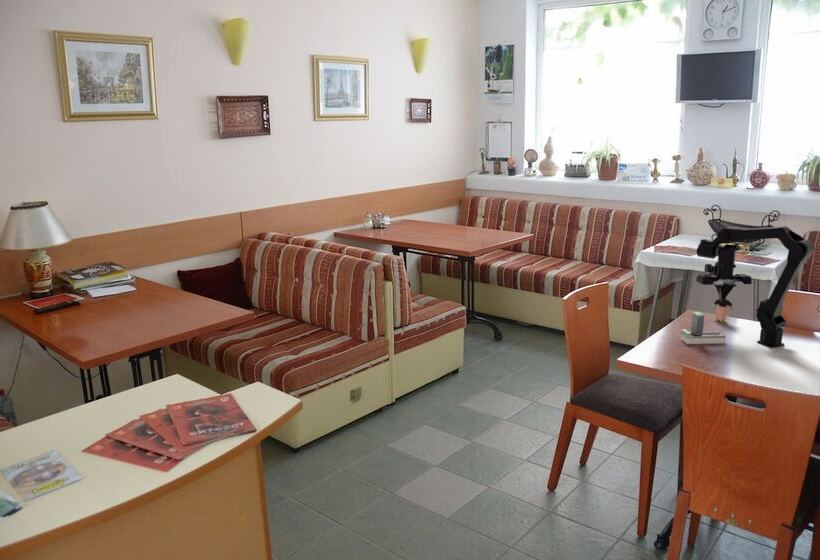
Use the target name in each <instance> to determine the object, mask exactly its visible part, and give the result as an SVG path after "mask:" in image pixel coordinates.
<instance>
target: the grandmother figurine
mask: <svg viewBox="0 0 820 560" xmlns="http://www.w3.org/2000/svg"><path fill="white" fill-rule="evenodd" d="M729 294H730V293H729ZM729 294H728V295H727V297H726V298H725V300H724V301H723V302H721V301H720V299H719V298H717V299H716V300H715V301H714V302H713V304H712V306H711V307H712V308H715V307H716V306H717V307H716V312H715V317H714V319H713V322H721V323H726V319H727V314H728V307H730V310H734V306H733V303H732V302H731V301H730V300H728V299H727V298H728V297H729Z"/></svg>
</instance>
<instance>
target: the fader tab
mask: <svg viewBox="0 0 820 560" xmlns="http://www.w3.org/2000/svg"><path fill="white" fill-rule="evenodd" d="M704 322H705V314H704V313H702V312H700V311H693V312H692V318H691V327H690V332H691V335H693V336H702V335H703V332H704V325H705V323H704Z"/></svg>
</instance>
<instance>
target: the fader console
mask: <svg viewBox="0 0 820 560" xmlns="http://www.w3.org/2000/svg"><path fill="white" fill-rule="evenodd" d="M680 335H681V336H680V340H681V341H682V340H683V341H682V342H683V343H685V344H686V345H701V344H707V345H708V344H725V343H726V334H721V332H720V331H703V335H702V336H693V335H691V331H688V330H687V329H685V328H681V334H680Z"/></svg>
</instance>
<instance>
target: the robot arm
mask: <svg viewBox="0 0 820 560" xmlns="http://www.w3.org/2000/svg"><path fill="white" fill-rule="evenodd" d="M764 239H765V240H766V239H767V240H768V239H771V240H772V239H778V240H779V241H780V243H781V244H782V245H783V246H784V248H785V249H787V250H788V252H787V259H786V265H785V266H784V268H783V271H782V273H781V274H780V276H779V278H778V280H777V283H776V285H775V286H774V288H773V291H772V292H771V294H770V296H769V298H766V299H763V300H761V301H760V303H759V305H758V308H757V309H756V310H755V312H756V315H755V317H756V319H757V320H758V322H759V325H760V328H761V329H760V334H759V340H757V343H759V344H761V345H764V346H767V347H770V348H776V347H782V346H783V347H784V346H785V343H784V342H782V341H783V333H784V329H783V328H784V327H785V326H786V324H787V321H786V319H785V318H784V317H783V316H782V311H783V302H784V299H786V295H787V294H788V293H789V291H790V290H789V289H791V286H792V284H793V282H794V280H795V278H796V277H797V274H798V273H799V271H800V269H801V267H802V266H803V265H804V264H805V263H806V262H808V261H809V259H810V257H811V256H812V255H813V254H814V252H815V249H816V248H815V246H814V245H815V244H814V243H813V242H812V241H811V240H808V239H806V238H804V237H803V236H801V235H799V234H798V233H796V232H795V231H793V230H792V229H790V227H788V226H786V225H783V226H780V227H779V226H777V227H757V228H755V227H754V228H745V227H740V226H733V225H732V226H728V227H724V228H721V229H720V230H719V231H718V233H717V236H716V237H715V238H714V239H713V240H710V239H706V238H702V239H700V242H699V243H698V245H697V248H696V255H697V257H698V258H699V257H700V258H705V259H711V260H712V259H713V260H715V258H716V257H717V261H716V262H715V264H714V265H712V263H706V264H704V273H703V274H702V273H701V274H698V275H697V276H696V278H695V279H696V281H695V282H697V283H699V284H700V285H704V286H705V285H706V286H711V285H713V286H714V287H715V289H716V291H717V294H718V299H720V301H721V302H723V301H724V300H725V298H726V297H727V295H728V294H730V292H731V291H732V290H733V289H734V287H737V286H738V285H737V284H736V282H741V283H742V284H743V285H752V284H753V278H752V276H751V275H748V274H746V273H735V274H734V270H735V268H736V267H737V264H735V263H736V262H735V260H736V253H737V252H738V251H742V250H743V247H742V246H741V245H740V244H739V243H736V242H741V241H745V240H746V241H747V240H764ZM733 243H734V244H733ZM723 244H724V245H723ZM727 298H728V297H727ZM727 298H726V299H727Z"/></svg>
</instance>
